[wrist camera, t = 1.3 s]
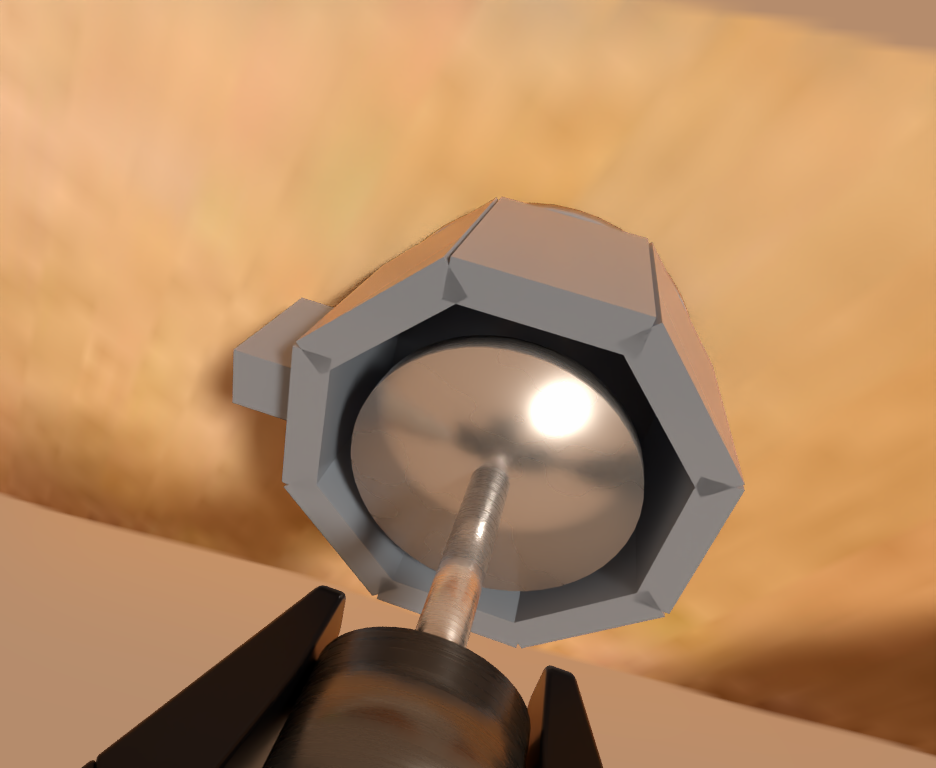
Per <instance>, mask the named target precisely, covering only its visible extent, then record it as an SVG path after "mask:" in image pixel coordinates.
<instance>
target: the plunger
mask: <svg viewBox="0 0 936 768" xmlns="http://www.w3.org/2000/svg"><path fill="white" fill-rule="evenodd" d="M351 462H352V470H353V474H354V478H355V483H356V485H357V488H358V490H359V493H360V496H361V498H362V500H363V502H364V504H365V506H366V507H367V509H368V511H369V513H370V514H371V515H372V517H373V518H374V520H375V521H376V523H377V524H378V525H379V526H380V528H381V529H382V530H383V531H384V532H385V533H386V535H387V536H388V537H389V538H390V539H391V540H393V541H394V542H395V543H396V544H397V545H398V546H399V547H400V548H401V549H403V550H404V551H405V552H406V553H408V554H409V555H410V556H412V557H413V558H414V559H416V560H418V561H419V562H421V563H422V564H424V565H426V566H427V567H429V568H431V569H433V570H435V571H437V572H436V574H435V577H434V580H433V583H432V585H431V588H430V591H429V594H428V596H427V599H426V602H425V604H424V607H423V610H422V613H421V615H420V618H419V621H418V624H417V626H416V629H415V630H413V629H407V628H398V627H371V628H363V629H358V630H354V631H351V632H348V633H345V634H343V635H341V636H339V637H337V638H335V639H334V640H333V641H331V642H330V643H329V644H328V645H326V647H325V648H324V649H323V650H322V651H321V653H320V655H319V657H318V659H317V661H316V663H315V665H314V667H313V669H312V671H311V673H310V675H309V676H308V678H307V680H306V682H305V684H304V686H303V688H302V690H301V692H300V694H299V696H298V698H297V700H296V702H295V704H294V706H293V708H292V710H291V712H290V714H289V716H288V718H287V720H286V722H285V724H284V726H283V728H282V729H281V731H280V733H279V735H278V737H277V739H276V741H275V743H274V745H273V747H272V749H271V751H270V753H269V755H268V757H267V759H266V761H265V763H264V765H263V767H262V768H525V767H526V760H527V753H528V746H529V739H530V731H531V723H530V716H529V713H528V709H527V707H526V705H525V703H524V701H523V699H522V697H521V695H520V694H519V692H518V691H517V689H516V688H515V687H514V686H513V684H512V683H511V682H510V681H509V680H508V679H507V678H506V677H505V676H504V675H503V674H502V673H501V672H500V671H499V670H498V669H497V668H496V667H494V666H493V665H491V664H490V663H489V662H487V661H486V660H485V659H484V658H482V657H480V656H479V655H477V654H475V653H474V652H472V651H470V650H469V649H467V648H466V646H467V642H468V639H469V635H470V631H471V628H472V624H473V620H474V616H475V613H476V609H477V605H478V602H479V598H480V594H481V591H482V587H484V588H489V589H495V590H504V591H534V590H544V589H549V588H554V587H559V586H562V585H565V584H568V583H571V582H575V581H577V580H579V579H581V578H583V577H586V576H588V575H590V574H592V573H593V572H595V571H596V570H598V569H599V568H601V567H603V566H604V565H605V564H606V563H608V562H609V561H610V560H611V559H612V558H613V557H615V556H616V555H617V553H618V552H619V551H620V550H621V549H622V548H623V547H624V545H625V544H626V543H627V541H628V540H629V538H630V536H631V535H632V533H633V531H634V530H635V527H636V525H637V522H638V520H639V517H640V514H641V509H642V505H643V499H644V467H643V458H642V450H641V446H640V442H639V439H638V435H637V432H636V430H635V428H634V425H633V423H632V421H631V419H630V417H629V415H628V413H627V412H626V410H625V409H624V407H623V406H622V404H621V403H620V401H619V400H618V399H617V397H616V396H615V395H614V394H613V393H612V392H611V391H610V389H609V388H608V387H607V386H606V385H605V384H604V383H603V382H602V381H601V380H599V379H598V378H597V377H596V376H595V375H594V374H593V373H592V372H590V371H589V370H588V369H586V368H585V367H583V366H582V365H580V364H579V363H577V362H576V361H574V360H573V359H571V358H569V357H567V356H565V355H563V354H561V353H559V352H557V351H555V350H553V349H550V348H548V347H545V346H542V345H540V344H537V343H534V342H530V341H526V340H522V339H518V338H513V337H505V336H497V335H470V336H462V337H454V338H450V339H446V340H442V341H439V342H435V343H433V344H430V345H428V346H425V347H423V348H421V349H418V350H417V351H415V352H413V353H412V354H410V355H408V356H407V357H405V358H403V359H402V360H401V361H400V362H398V363H397V364H396V365H395V366H394V367H392V368H391V369H390V370H389V371H388V373H387V374H386V375H385V376H384V377H383V378H382V379H381V380H380V382H379V383H378V384H377V386H376V387H375V388H374V390H373V391H372V392H371V394H370V395H369V397H368V398H367V400H366V401H365V403H364V405H363V406H362V408H361V410H360V412H359V415H358V417H357V420H356V422H355V426H354V430H353V434H352V441H351Z"/></svg>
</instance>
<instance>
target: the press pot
mask: <svg viewBox="0 0 936 768" xmlns="http://www.w3.org/2000/svg"><path fill="white" fill-rule="evenodd" d="M470 335H497V336H505V337H513V338H518V339H522V340H526V341H530V342H534V343H537V344H540V345H542V346H545V347H548V348H550V349H553V350H555V351H557V352H559V353H561V354H563V355H565V356H567V357H569V358H571V359H573V360H574V361H576V362H577V363H579V364H580V365H582V366H583V367H585V368H586V369H588V370H589V371H590V372H592V373H593V374H594V375H595V376H596V377H597V378H598V379H599V380H601V381H602V382H603V383H604V384H605V385H606V386H607V387H608V388H609V389H610V391H611V392H612V393H613V394H614V395H615V396H616V397H617V399H618V400H619V401H620V403H621V404H622V406H623V407H624V409H625V410H626V412H627V413H628V415H629V417H630V419H631V421H632V423H633V425H634V428H635V430H636V432H637V435H638V439H639V442H640V446H641V450H642V458H643V467H644V499H643V505H642V509H641V514H640V517H639V520H638V522H637V525H636V527H635V530H634V531H633V533H632V535H631V536H630V538H629V540H628V541H627V543H626V544H625V545H624V547H623V548H622V549H621V550H620V551H619V552H618V553H617V555H616V556H615V557H613V558H612V559H611V560H610V561H609V562H608V563H606V564H605V565H604V566H603V567H601V568H599V569H598V570H596V571H595V572H593V573H592V574H590V575H588V576H586V577H583V578H581V579H579V580H577V581H575V582H571V583H568V584H565V585H562V586H559V587H554V588H549V589H544V590H534V591H504V590H495V589H489V588H484V587H482V591H481V594H480V598H479V602H478V605H477V609H476V613H475V616H474V620H473V624H472V628H471V631H470V632H473V633H475V634H478V635H481V636H484V637H487V638H490V639H492V640H495V641H498V642H501V643H504V644H507V645H509V646H512V647H515V648H516V647H517V644H519V645H520V647H521V648H525V647H530V646H534V645H539V644H543V643H548V642H552V641H557V640H561V639H566V638H570V637H575V636H580V635H584V634H589V633H593V632H598V631H602V630H607V629H611V628H616V627H620V626H625V625H629V624H634V623H639V622H643V621H648V620H652V619H657V618H661V617H665V614H664V612H665V613H668V614H670V612H671V610H672V609H673V607H674V605H675V604H676V602H677V600H678V599H679V597H680V595H681V594H682V592H683V591H684V589H685V587H686V586H687V584H688V582H689V581H690V579H691V577H692V576H693V574H694V573H695V571H696V569H697V568H698V566H699V564H700V563H701V561H702V559H703V558H704V556H705V554H706V553H707V551H708V550H709V548H710V546H711V545H712V543H713V541H714V540H715V538H716V536H717V535H718V533H719V532H720V530H721V528H722V527H723V525H724V523H725V522H726V520H727V518H728V517H729V515H730V513H731V512H732V510H733V509H734V507H735V505H736V504H737V502H738V500H739V499H740V497H741V495H742V494H743V492H744V491H745V490H744V487H743V485H745V483H744V480H743V476H742V472H741V469H740V465H739V461H738V457H737V454H736V450H735V446H734V443H733V439H732V435H731V432H730V428H729V424H728V420H727V417H726V413H725V409H724V406H723V402H722V398H721V394H720V391H719V387H718V383H717V380H716V376H715V372H714V368H713V365H712V363H711V361H710V359H709V357H708V355H707V353H706V351H705V349H704V347H703V345H702V343H701V341H700V339H699V337H698V334H697V332H696V330H695V328H694V326H693V324H692V322H691V320H690V316H689V313H688V311H687V308H686V306H685V303H684V301H683V298H682V296H681V294H680V292H679V290H678V288H677V287H676V285H675V283H674V282H673V280H672V278H671V276H670V275H669V274H668V272H667V271H666V269H665V267H664V265H663V263H662V261H661V259H660V257H659V255H658V253H657V251H656V249H655V247H654V245H653V243H650V244H648V238H644V237H641V236H637V235H634V234H630V233H627V232H624V231H623V230H621V229H620V228H618V227H616V226H614V225H612V224H610V223H608V222H606V221H605V220H603V219H601V218H599V217H596V216H593V215H590V214H588V213H585V212H582V211H579V210H576V209H572V208H567V207H562V206H558V205H553V204H540V203H523V202H519V201H516V200H512V199H509V198H505V197H501V198H500V199H499V201H498V199H497V197H496V198H494V199H493V200H491V201H489V202H488V203H486V204H484V205H483V206H481V207H479V208H478V209H476V210H474V211H473V212H471V213H469V214H467V215H464V216H462V217H460V218H458V219H456V220H454V221H452V222H450V223H448V224H446V225H444V226H443V227H441V228H440V229H438V230H437V231H436V232H434V233H433V234H431V235H430V236H429V237H427V238H426V239H425V240H424V241H422V242H421V243H419V244H417V245H416V246H414V247H412V248H411V249H409V250H407V251H406V252H404V253H402V254H401V255H399V256H397V257H396V258H394V259H392V260H391V261H389V262H387V263H386V264H384V265H382V266H381V267H380V268H379V269H378V270H376V271H375V272H374V273H373V274H372V275H371V276H370V277H369V278H367V279H366V280H365V281H364V282H363V283H362V284H361V285H359V286H358V287H357V288H356V289H355V290H354V291H353V292H351V293H350V294H349V295H348V296H347V297H346V298H345V299H343V300H342V301H341V302H340V303H339V304H338V305H337V306H336V307H334V308H333V307H330V306H327V305H324V304H321V303H317V302H314V301H311V300H308V299H304V298H301V299H299V300H298V301H297V302H296V303H294V304H293V305H292V306H290V307H289V308H288V309H286V310H285V311H284V312H282V313H281V314H280V315H278V316H277V317H276V318H274V319H273V320H272V321H271V322H269V323H268V324H267V325H265V326H264V327H263V328H261V329H260V330H259V331H257V332H256V333H255V334H253V335H252V336H251V337H250V338H248V339H247V340H246V341H244V342H243V343H242V344H240V345H239V346H238V347H236V348H235V349H234V357H233V403H235V404H238V405H241V406H244V407H247V408H250V409H253V410H257V411H260V412H263V413H266V414H269V415H272V416H275V417H278V418H281V419H284V420H287V424H286V436H285V449H284V462H283V474H282V482H283V483H286V485H285V486H284V488H285V489H286V490H287V492H288V493H289V494H290V495H291V497H292V498H293V499H294V500H295V501H296V503H297V504H298V505H299V506H300V508H301V509H302V510H303V511H304V512H305V514H306V515H307V516H308V517H309V519H310V520H311V521H312V522H313V523H314V525H315V526H316V527H317V528H318V530H319V531H320V532H321V533H322V535H323V536H324V537H325V538H326V539H327V541H328V542H329V543H330V544H331V546H332V547H333V548H334V549H335V550H336V552H337V553H338V554H339V555H340V557H341V558H342V559H343V560H344V561H345V563H346V564H347V565H348V566H349V568H350V569H351V570H352V571H353V572H354V574H355V575H356V576H357V577H358V579H359V580H360V581H361V582H362V583H363V585H364V586H365V587H366V588H367V590H368V591H369V592H370V593H371V595H372V596H373V595H377V594H378V597H377V599H379V600H382V601H385V602H387V603H390V604H393V605H396V606H399V607H402V608H404V609H407V610H410V611H413V612H416V613H419V614H421V613H422V610H423V607H424V604H425V602H426V599H427V596H428V594H429V591H430V588H431V585H432V583H433V580H434V577H435V574H436V572H437V571H435V570H433V569H431V568H429V567H427V566H426V565H424V564H422V563H421V562H419V561H418V560H416V559H414V558H413V557H412V556H410V555H409V554H408V553H406V552H405V551H404V550H403V549H401V548H400V547H399V546H398V545H397V544H396V543H395V542H394V541H393V540H391V539H390V538H389V537H388V536H387V535H386V533H385V532H384V531H383V530H382V529H381V528H380V526H379V525H378V524H377V523H376V521H375V520H374V518H373V517H372V515H371V514H370V513H369V511H368V509H367V507H366V506H365V504H364V502H363V500H362V498H361V496H360V493H359V490H358V488H357V485H356V483H355V478H354V474H353V470H352V462H351V441H352V434H353V430H354V426H355V422H356V420H357V417H358V415H359V412H360V410H361V408H362V406H363V405H364V403H365V401H366V400H367V398H368V397H369V395H370V394H371V392H372V391H373V390H374V388H375V387H376V386H377V384H378V383H379V382H380V380H381V379H382V378H383V377H384V376H385V375H386V374H387V373H388V371H389V370H390V369H391V368H392V367H394V366H395V365H396V364H397V363H398V362H400V361H401V360H402V359H403V358H405V357H407V356H408V355H410V354H412V353H413V352H415V351H417V350H418V349H421V348H423V347H425V346H428V345H430V344H433V343H435V342H439V341H442V340H446V339H450V338H454V337H462V336H470Z"/></svg>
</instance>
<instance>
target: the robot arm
mask: <svg viewBox="0 0 936 768" xmlns="http://www.w3.org/2000/svg"><path fill="white" fill-rule="evenodd" d="M345 599H346V598H345V594H344V593H343V592H341V591H339V590H336V589H333V588H330V587H327V586H319V587H317V588H315V589H314V590H312V591H311V592H310V593H309V594H307V595H306V596H305V597H303V598H302V599H301V600H300V601H298V602H297V603H296V604H294V605H293V606H292V607H290V608H289V609H288V610H286V611H285V612H284V613H283V614H281V615H280V616H279V617H277V618H276V619H275V620H274V621H272V622H271V623H270V624H268V625H267V626H266V627H264V628H263V629H262V630H260V631H259V632H258V633H257V634H255V635H254V636H253V637H251V638H250V639H249V640H247V641H246V642H245V643H244V644H242V645H241V646H240V647H238V648H237V649H236V650H234V651H233V652H232V653H230V654H229V655H228V656H227V657H225V658H224V659H223V660H221V661H220V662H219V663H218V664H216V665H215V666H214V667H212V668H211V669H210V670H208V671H207V672H206V673H204V674H203V675H202V676H201V677H199V678H198V679H197V680H195V681H194V682H193V683H191V684H190V685H189V686H188V687H186V688H185V689H184V690H182V691H181V692H180V693H179V694H177V695H176V696H175V697H173V698H172V699H171V700H170V701H168V702H167V703H165V704H164V705H163V706H162V707H160V708H159V709H158V710H157V711H155V712H154V713H153V714H151V715H150V716H149V717H147V718H146V719H145V720H143V721H142V722H141V723H139V724H138V725H137V726H136V727H134V728H133V729H132V730H130V731H129V732H128V733H127V734H125V735H124V736H123V737H121V738H120V739H119V740H117V741H116V742H115V743H113V744H112V745H111V746H110V747H108V748H107V749H106V750H104V751H103V752H102V753H101V754H99V755H98V757H97V760H96V762H95V761H94V760H92V761H90V762H88V763H87V764H86V765H84V766H83V767H82V768H262V767H263V765H264V763H265V761H266V759H267V757H268V755H269V753H270V751H271V749H272V747H273V745H274V743H275V741H276V739H277V737H278V735H279V733H280V731H281V729H282V728H283V726H284V724H285V722H286V720H287V718H288V716H289V714H290V712H291V710H292V708H293V706H294V704H295V702H296V700H297V698H298V696H299V694H300V692H301V690H302V688H303V686H304V684H305V682H306V680H307V678H308V676H309V675H310V673H311V671H312V669H313V667H314V665H315V663H316V661H317V659H318V657H319V655H320V653H321V651H322V650H323V649H324V648H325V647H326V645H328V644H329V643H330V642H331V641H333V640H334V639H335V638H337V637H338V635H339V632H340V628H341V623H342V617H343V611H344V605H345ZM527 709H528V713H529V716H530V723H531V731H530V739H529V746H528V753H527V760H526V767H525V768H603V766H602V763H601V759H600V756H599V753H598V750H597V746H596V743H595V740H594V737H593V733H592V730H591V727H590V723H589V720H588V717H587V713H586V710H585V707H584V704H583V700H582V697H581V694H580V691H579V688H578V684H577V681H576V679H575V677H574V675H573V674H572V673H570V672H568V671H565V670H562V669H559V668H556V667H554V666H547V667H546V668H545V669H544V670H543V673H542V675H541V677H540V679H539V681H538V683H537V685H536V687H535V689H534V691H533V694H532V696H531V699H530V701H529V705H528V708H527Z"/></svg>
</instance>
